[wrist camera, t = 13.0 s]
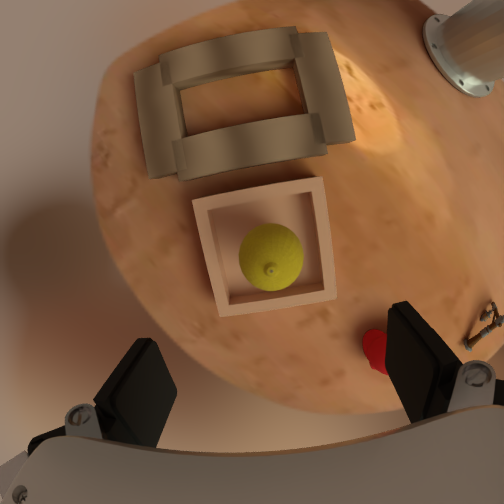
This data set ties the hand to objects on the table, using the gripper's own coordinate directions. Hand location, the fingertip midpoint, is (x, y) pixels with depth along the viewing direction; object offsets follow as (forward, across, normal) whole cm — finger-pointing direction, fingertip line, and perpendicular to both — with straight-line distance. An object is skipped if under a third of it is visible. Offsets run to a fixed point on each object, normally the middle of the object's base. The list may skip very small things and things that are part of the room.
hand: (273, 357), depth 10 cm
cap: (+20, -12, +16) cm, 28 cm away
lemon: (+18, 0, 0) cm, 18 cm away
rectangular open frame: (+19, +1, -15) cm, 24 cm away
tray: (+19, +1, 0) cm, 19 cm away
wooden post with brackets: (+20, -29, +18) cm, 40 cm away
